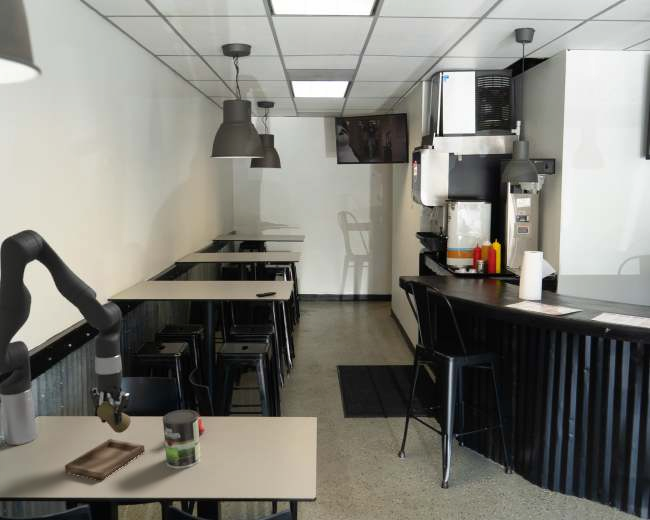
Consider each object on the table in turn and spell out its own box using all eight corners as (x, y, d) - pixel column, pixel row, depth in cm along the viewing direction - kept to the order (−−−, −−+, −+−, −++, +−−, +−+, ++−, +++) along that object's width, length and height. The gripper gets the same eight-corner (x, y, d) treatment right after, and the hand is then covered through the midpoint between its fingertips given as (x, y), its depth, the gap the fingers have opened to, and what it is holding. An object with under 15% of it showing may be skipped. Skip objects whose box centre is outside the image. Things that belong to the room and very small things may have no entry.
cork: (127, 432, 183) (108, 417, 175) (110, 433, 184) (90, 418, 176) (132, 414, 187) (114, 398, 179) (116, 415, 188) (97, 399, 180)
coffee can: (184, 472, 171) (180, 426, 169) (159, 464, 176) (154, 419, 174) (208, 456, 179) (205, 412, 177) (184, 449, 185) (180, 407, 183)
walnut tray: (65, 473, 173) (64, 465, 173) (110, 446, 190) (109, 439, 189) (101, 481, 168) (101, 473, 167) (144, 452, 184) (144, 445, 184)
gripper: (81, 370, 178) (84, 424, 180) (119, 375, 173) (121, 431, 175) (98, 363, 185) (101, 415, 187) (135, 368, 180) (138, 421, 182)
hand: (111, 422), depth 181 cm, fingers closed on cork, 4 cm apart
